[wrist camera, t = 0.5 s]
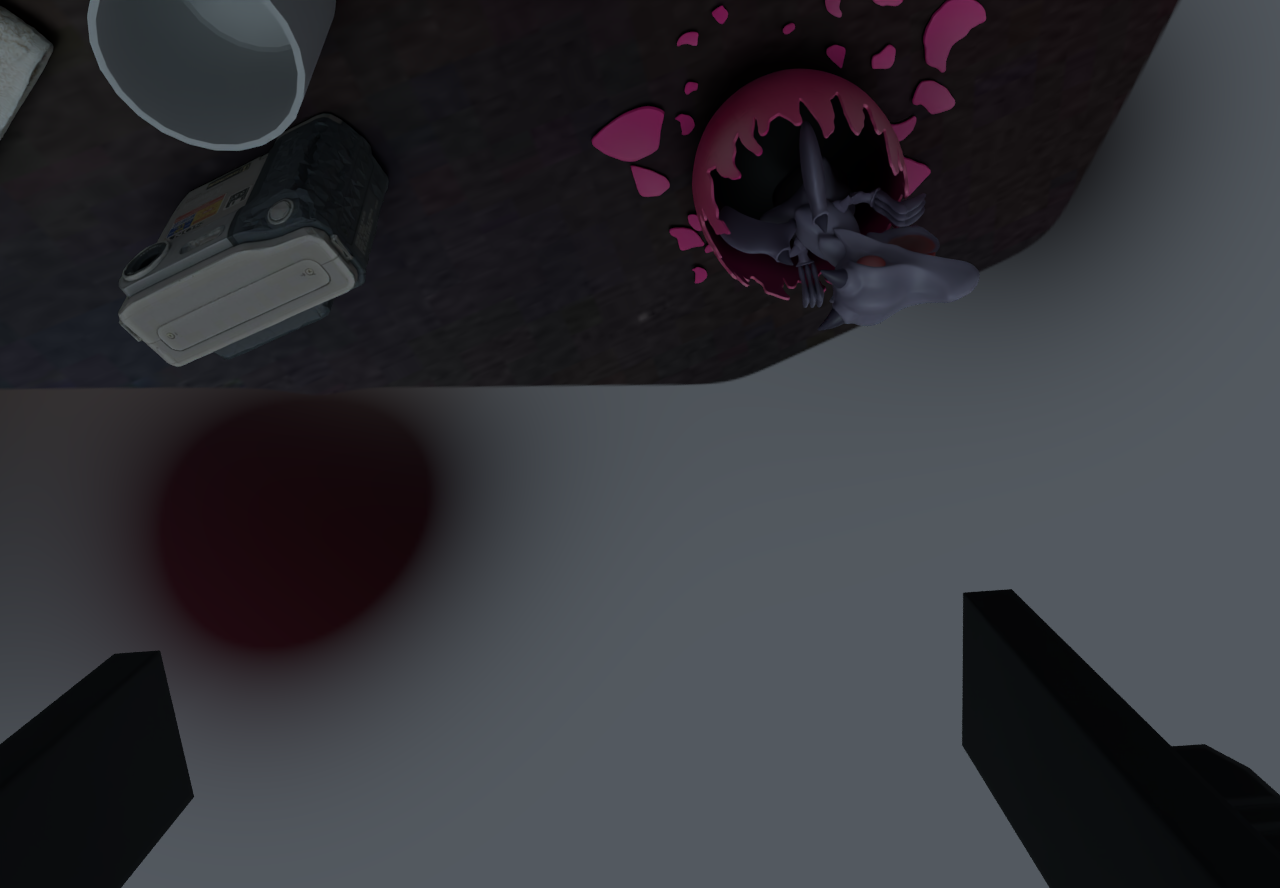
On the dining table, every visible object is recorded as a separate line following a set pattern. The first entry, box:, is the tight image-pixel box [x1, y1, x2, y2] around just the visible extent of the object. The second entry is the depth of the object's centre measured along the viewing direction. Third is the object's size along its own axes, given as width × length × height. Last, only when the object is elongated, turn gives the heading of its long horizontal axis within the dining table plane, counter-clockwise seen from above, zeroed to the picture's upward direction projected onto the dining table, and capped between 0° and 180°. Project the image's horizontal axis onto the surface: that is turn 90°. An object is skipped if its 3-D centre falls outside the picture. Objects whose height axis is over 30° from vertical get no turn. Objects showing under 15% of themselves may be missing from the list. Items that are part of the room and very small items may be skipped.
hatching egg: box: [592, 0, 986, 330], centre depth 41 cm, size 20×16×14 cm
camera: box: [118, 113, 389, 367], centre depth 42 cm, size 11×6×10 cm, turn 112°
